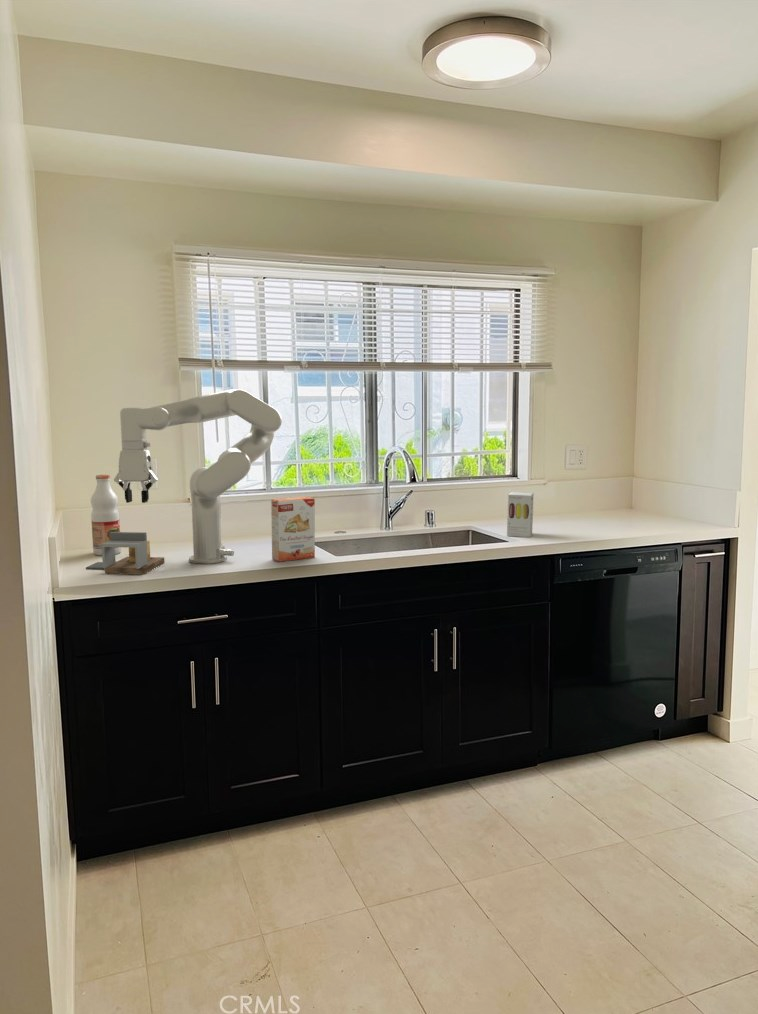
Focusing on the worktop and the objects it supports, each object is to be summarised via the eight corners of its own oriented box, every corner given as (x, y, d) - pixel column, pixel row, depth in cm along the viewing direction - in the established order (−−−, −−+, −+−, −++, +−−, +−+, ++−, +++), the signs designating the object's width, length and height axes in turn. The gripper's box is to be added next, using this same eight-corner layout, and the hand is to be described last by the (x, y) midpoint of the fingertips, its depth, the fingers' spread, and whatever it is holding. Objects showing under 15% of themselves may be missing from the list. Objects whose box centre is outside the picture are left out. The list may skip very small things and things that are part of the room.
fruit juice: (98, 550, 272) (94, 474, 268) (124, 550, 272) (120, 473, 268) (89, 556, 262) (84, 476, 258) (116, 555, 262) (112, 476, 258)
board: (164, 563, 250) (164, 557, 250) (144, 574, 235) (144, 567, 234) (127, 562, 252) (127, 556, 251) (105, 573, 236) (104, 567, 236)
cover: (147, 563, 239) (146, 532, 237) (138, 568, 232) (136, 536, 230) (113, 563, 240) (111, 531, 239) (102, 568, 233) (101, 535, 232)
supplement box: (506, 536, 297) (507, 494, 295) (509, 532, 306) (510, 491, 304) (530, 537, 294) (531, 495, 292) (532, 533, 303) (533, 492, 301)
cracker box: (279, 562, 251) (277, 500, 248) (271, 559, 256) (270, 498, 253) (316, 557, 258) (315, 497, 255) (307, 554, 263) (306, 495, 260)
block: (150, 564, 249) (149, 540, 248) (144, 567, 244) (143, 543, 243) (136, 564, 249) (135, 540, 248) (129, 567, 244) (128, 543, 243)
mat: (120, 564, 249) (120, 562, 249) (109, 569, 241) (109, 567, 241) (97, 563, 250) (97, 562, 250) (85, 569, 242) (85, 567, 242)
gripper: (164, 445, 244) (166, 501, 246) (114, 445, 246) (117, 500, 248) (154, 447, 236) (157, 504, 239) (103, 446, 238) (106, 503, 241)
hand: (137, 501), depth 243 cm, fingers open, 4 cm apart
